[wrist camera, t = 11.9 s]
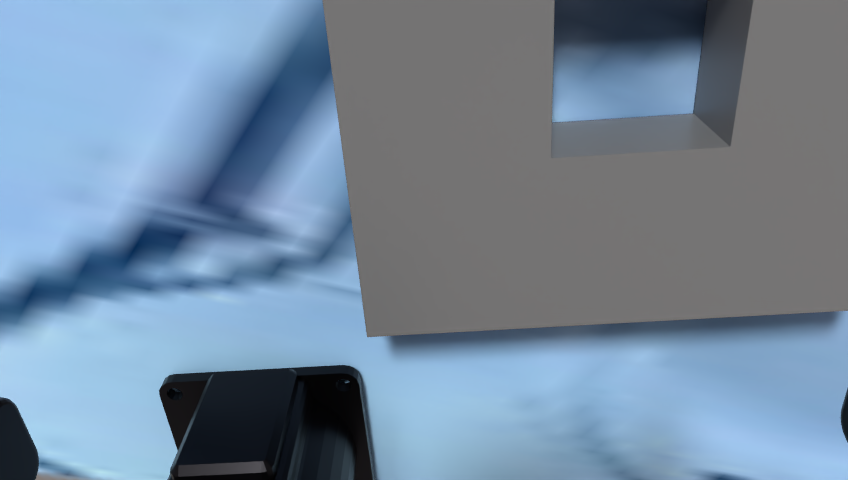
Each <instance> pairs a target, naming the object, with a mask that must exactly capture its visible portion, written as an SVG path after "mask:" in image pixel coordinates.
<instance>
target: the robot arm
mask: <svg viewBox="0 0 848 480" xmlns="http://www.w3.org/2000/svg"><path fill="white" fill-rule="evenodd" d="M341 379H345V380H348V381H350V382H349V383H341V382H340V381H338V380H341ZM172 388H176V389H178V390H180V391H181V392H176V391H175V390H173V389H172ZM159 393H160V398H161V401H162V404H163V407H164V410H165V413H166V416H167V419H168V422H169V425H170V428H171V431H172V434H173V437H174V440H175V444H176V447H177V450H178V452H177V454H176V457H175V459H174V462H173V464H172V466H171V469H170V475H169V478H168V480H375V476H374V469H373V462H372V455H371V448H370V441H369V434H368V427H367V420H366V414H365V407H364V400H363V393H362V386H361V379H360V375H359V372H358V371H357V370H356V369H355V368H353V367H351V366H346V365H337V366H318V367H300V368H281V369H262V370H244V371H225V372H206V373H188V374H174V375H169V376H168V377H167V378H165V380H164V382H163V384H162V386H161V388H160V390H159ZM841 425H842V429H843V433H844V435H845V438H846V440H847V442H848V389H847V392H846V396H845V399H844V402H843V406H842V410H841ZM38 466H39V458H38V452H37V449H36V447H35V445H34V443H33V440H32V438H31V436H30V434H29V432H28V430H27V427H26V425H25V423H24V421H23V419H22V417H21V415H20V412H19V410H18V408H17V406H16V405H15V404H14V403H13V402H12V401H11V400H9V399H7V398H2V397H0V480H35V479H36V476H37V472H38Z"/></svg>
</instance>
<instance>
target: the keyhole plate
mask: <svg viewBox="0 0 848 480" xmlns="http://www.w3.org/2000/svg"><path fill="white" fill-rule="evenodd" d="M554 3H555V0H323V7H324V14H325V22H326V29H327V37H328V44H329V52H330V60H331V67H332V75H333V82H334V90H335V97H336V105H337V112H338V120H339V128H340V135H341V143H342V150H343V158H344V165H345V173H346V180H347V188H348V196H349V203H350V211H351V218H352V226H353V233H354V241H355V248H356V256H357V264H358V271H359V279H360V286H361V294H362V301H363V309H364V316H365V324H366V332H367V337H377V336H395V335H413V334H432V333H450V332H468V331H486V330H504V329H523V328H541V327H559V326H577V325H596V324H614V323H632V322H650V321H669V320H687V319H705V318H723V317H741V316H760V315H778V314H796V313H814V312H833V311H848V0H708V2H707V10H706V18H705V26H704V34H703V42H702V50H701V58H700V66H699V74H698V82H697V90H696V98H695V106H694V114H679V115H664V116H648V117H633V118H617V119H602V120H586V121H571V122H555V123H552V91H553V47H554Z"/></svg>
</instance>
